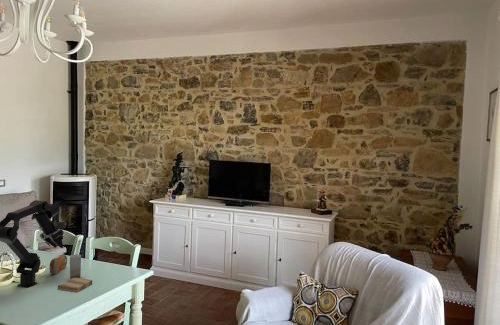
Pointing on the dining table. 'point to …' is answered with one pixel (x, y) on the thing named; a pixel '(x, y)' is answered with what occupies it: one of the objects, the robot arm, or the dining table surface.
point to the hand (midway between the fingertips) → (59, 247)
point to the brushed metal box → (75, 266)
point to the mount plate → (75, 284)
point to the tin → (58, 264)
